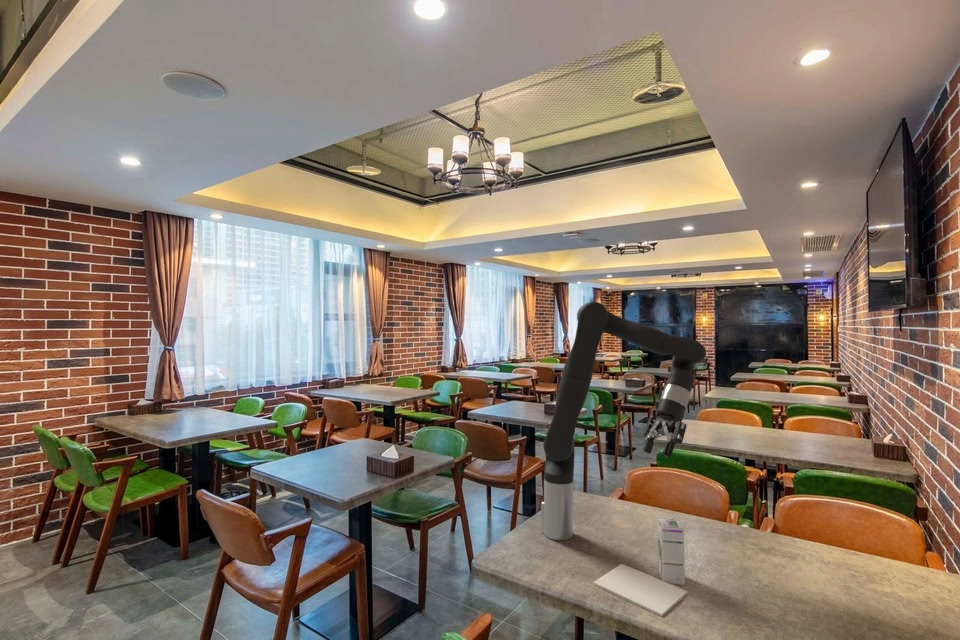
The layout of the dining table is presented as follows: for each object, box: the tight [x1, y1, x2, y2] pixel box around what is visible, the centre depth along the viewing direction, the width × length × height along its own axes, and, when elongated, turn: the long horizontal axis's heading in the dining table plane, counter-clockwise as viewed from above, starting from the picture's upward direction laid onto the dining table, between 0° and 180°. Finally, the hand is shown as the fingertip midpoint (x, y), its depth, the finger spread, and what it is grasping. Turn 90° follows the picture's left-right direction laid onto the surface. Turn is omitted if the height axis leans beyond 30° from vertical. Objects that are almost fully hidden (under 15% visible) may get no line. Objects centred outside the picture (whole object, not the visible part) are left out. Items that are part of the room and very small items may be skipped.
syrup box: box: [657, 517, 686, 586], centre depth 121 cm, size 6×6×14 cm
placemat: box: [592, 563, 689, 618], centre depth 116 cm, size 18×14×1 cm
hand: (656, 454), depth 133 cm, fingers open, 8 cm apart
